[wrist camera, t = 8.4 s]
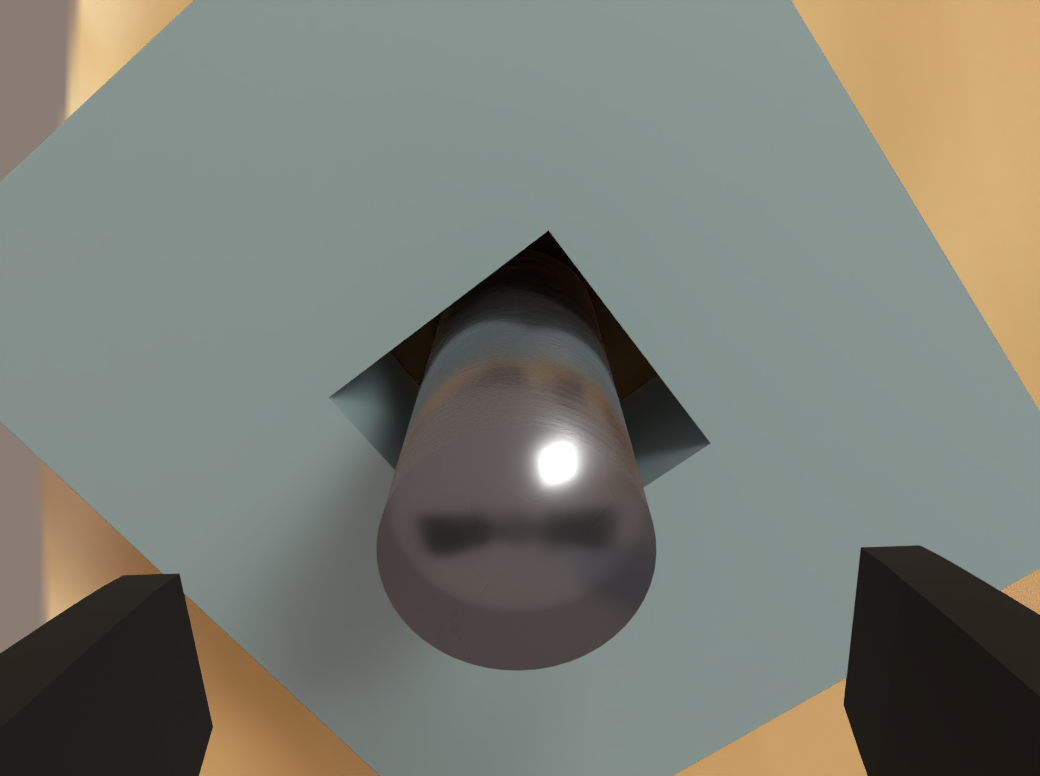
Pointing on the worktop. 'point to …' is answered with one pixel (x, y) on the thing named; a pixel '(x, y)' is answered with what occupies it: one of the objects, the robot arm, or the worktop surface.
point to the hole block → (452, 273)
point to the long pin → (517, 481)
